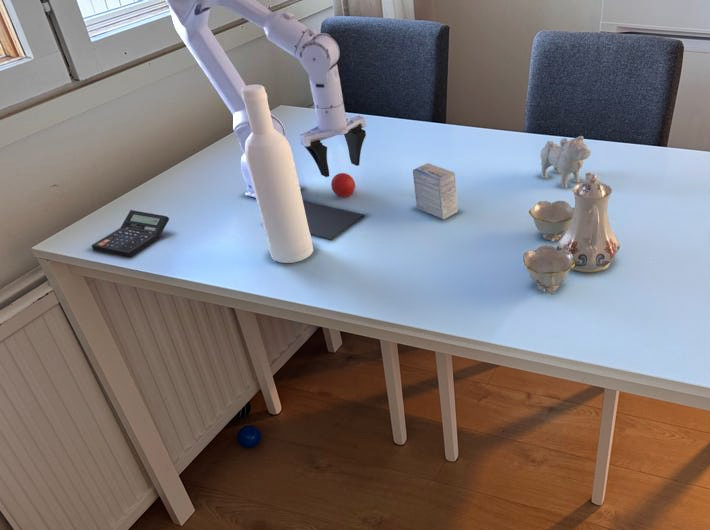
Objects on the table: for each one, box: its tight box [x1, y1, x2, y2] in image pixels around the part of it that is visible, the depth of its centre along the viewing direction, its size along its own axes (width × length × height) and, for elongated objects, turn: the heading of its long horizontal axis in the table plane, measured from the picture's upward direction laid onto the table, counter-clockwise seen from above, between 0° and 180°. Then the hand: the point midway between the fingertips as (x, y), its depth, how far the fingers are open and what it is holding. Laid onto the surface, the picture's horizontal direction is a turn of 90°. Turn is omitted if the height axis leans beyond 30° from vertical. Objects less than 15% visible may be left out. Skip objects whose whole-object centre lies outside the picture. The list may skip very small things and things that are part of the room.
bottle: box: [241, 84, 314, 264], centre depth 115 cm, size 8×8×30 cm
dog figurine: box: [539, 135, 592, 189], centre depth 142 cm, size 5×13×11 cm, turn 38°
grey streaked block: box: [412, 162, 459, 220], centre depth 133 cm, size 8×4×9 cm, turn 47°
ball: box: [330, 172, 356, 198], centre depth 142 cm, size 5×5×5 cm
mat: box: [302, 199, 365, 241], centre depth 135 cm, size 16×11×1 cm
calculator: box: [91, 209, 170, 258], centre depth 131 cm, size 9×12×3 cm
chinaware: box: [523, 172, 621, 296], centre depth 114 cm, size 28×17×17 cm, turn 178°
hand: (340, 169), depth 139 cm, fingers open, 7 cm apart
